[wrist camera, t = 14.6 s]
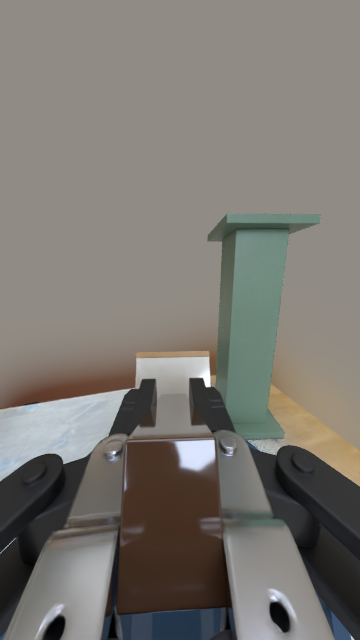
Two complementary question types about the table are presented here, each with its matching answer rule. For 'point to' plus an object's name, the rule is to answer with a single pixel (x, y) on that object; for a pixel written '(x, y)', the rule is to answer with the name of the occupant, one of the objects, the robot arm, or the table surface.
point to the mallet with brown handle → (171, 497)
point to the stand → (251, 314)
